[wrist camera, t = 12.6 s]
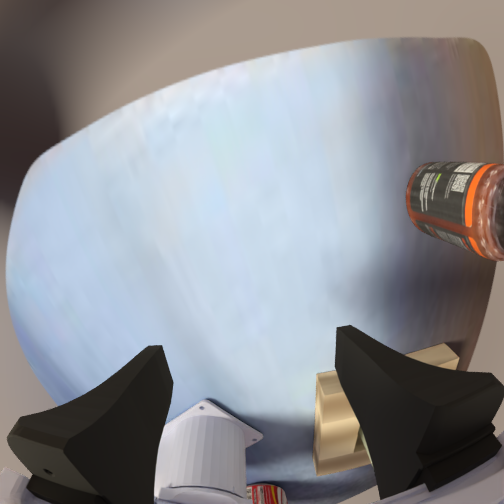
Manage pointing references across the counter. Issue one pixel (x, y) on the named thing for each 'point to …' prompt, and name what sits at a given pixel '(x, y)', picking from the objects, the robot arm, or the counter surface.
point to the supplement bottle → (460, 205)
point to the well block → (352, 417)
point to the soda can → (266, 494)
